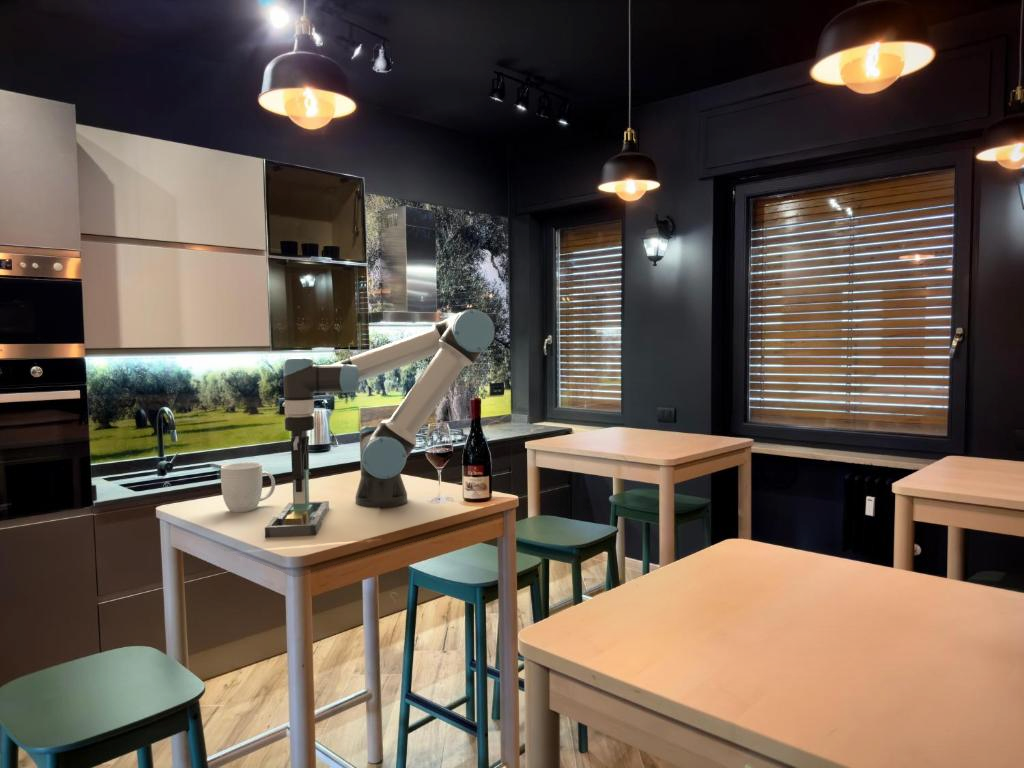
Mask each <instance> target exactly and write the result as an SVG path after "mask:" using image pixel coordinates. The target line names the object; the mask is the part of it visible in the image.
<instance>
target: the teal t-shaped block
mask: <svg viewBox="0 0 1024 768" xmlns="http://www.w3.org/2000/svg"><path fill="white" fill-rule="evenodd" d="M309 476H310V475H308V469H304V479H305V504H295V503H294V480H292V500H293V502H292V503H293V507H292V508H291V509H290V514H291V513H292V512H293V511H305V510H309V517H310V515H311V514H312V512H313V505H309V502H310V487H309V485H310V483H309V482H310V481H309V480H310V479H309Z"/></svg>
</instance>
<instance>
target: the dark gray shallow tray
mask: <svg viewBox="0 0 1024 768" xmlns="http://www.w3.org/2000/svg"><path fill="white" fill-rule="evenodd" d="M329 504H330V503H329V500H322V501H318V500H317V501H309V505H313V512H312V514H311V515H310V517H309V520H308V522H307V523H306V524H312V522H313V520H314V519H315V517H316V515H321V520H322V521H323V520H324V517H325V516H326V514H327V513H328V510H329V509H330V505H329ZM292 507H293V502H288V503H287V505H286V506H285V507H284V508H283V510H281V512H280V513H279V514H278V516H277V517H278V521H279V526H283V525H285V518H286V517H287V516H288V515H290V509H291V508H292Z"/></svg>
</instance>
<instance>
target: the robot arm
mask: <svg viewBox="0 0 1024 768" xmlns="http://www.w3.org/2000/svg"><path fill="white" fill-rule="evenodd" d="M494 337H495V326H494V322H493V321H492V319H491V317H489V315H488V314H486V313H485V312H483V311H481V310H478V309H475V308H468V309H465V310H463V311H459V312H457V313H455V314H453V315H452V316H450V317H448V318H446V319H444V320H442V321H440V322H437V323H434V324H432V326H431V328H430V329H428V330H425V331H422V332H419V333H416V334H414V335H411V336H408V337H405V338H403V339H400V340H396V341H394V342H391V343H387V344H385V345H382V346H380V347H376V348H373V349H371V350H369V351H365V352H363V353H360V354H357V355H355V356H351V357H350V358H346V359H343V360H340V361H338V362H333V363H330V364H322V365H321V364H320V365H319V364H314V362H313V361H314V360H313V359H312V357H289V358H286V359H285V360H284V361H283V375H282V377H283V378H282V379H283V396H284V397H283V399H284V402H283V403H282V407H284V414H285V415H286V416H285V417H284V430H285V431H287V432H292V437H291V438H290V444H289V446H290V454H291V455H290V456H291V458H290V459H291V460H290V461H291V477H290V481H293V480H294V503H295V504H305V479H304V469H308V476H311V475H312V473H311V472H310V457H309V456H310V454H309V453H310V451H309V450H310V449H309V448H310V447H309V443H310V441H309V440H310V436H309V435H307V431H313V430H314V429H315V416H313V414H314V413H315V401H314V394H315V393H317V394H320V393H323V394H324V393H329V394H330V393H344V394H347V393H355V392H357V391H358V390H359V383H360V382H363V381H366V380H368V379H371V378H374V377H377V376H380V375H383V374H386V373H389V372H392V371H394V370H396V369H400V368H402V367H405V366H407V365H411V364H414V363H417V362H418V361H421V360H425V359H427V358H430V357H432V356H433V357H432V359H431V360H430V361H429V363H428V364H427V365H426V368H424V370H423V371H422V373H421V374H420V376H418V378H417V380H416V381H415V383H414V384H413V386H412V387H411V388H410V389H409V391H408V392H407V394H406V395H405V397H404V398H403V399H402V400H401V402H400V404H399V405H398V407H397V408H396V409H395V411H394V412H393V414H392V415H391V417H390V418H388V419H383V420H381V421H380V422H379V424H378V425H370V426H369V425H367V426H362V427H361V428H360V429H359V436H358V438H359V454H360V457H359V458H360V459H359V461H360V462H359V463H360V480H359V483H358V487H357V490H356V493H355V497H354V498H355V504H356V505H357V506H360V507H365V508H366V507H367V508H379V509H383V508H392V507H393V508H394V507H398V506H401V505H404V504H406V503H407V502H408V493H407V490H406V487H405V484H404V481H403V478H402V475H401V474H402V473H401V472H402V470H403V469H404V468H405V465H406V463H407V460H408V459H407V458H408V457H409V456H410V455H411V453H412V451H413V450H414V448H415V447H416V445H417V439H416V436H417V434H418V433H419V432H420V430H421V429H422V427H423V426H424V425H425V423H426V422H427V421H428V419H429V418H430V416H431V415H432V414H433V412H434V411H435V409H436V407H437V406H438V405H439V403H440V402H441V401H442V399H443V398H444V396H445V395H446V393H447V392H448V391H449V389H450V388H451V386H452V385H453V384H454V382H455V381H456V379H457V378H458V376H459V375H460V373H462V370H463V369H464V368H465V367H467V366H473V364H474V363H475V362H476V360H477V359H478V358H479V356H480V355H481V353H482V352H483V351H485V350H486V349H487V348H488V347H490V346H491V344H492V342H493V341H494Z"/></svg>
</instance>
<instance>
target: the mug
mask: <svg viewBox="0 0 1024 768" xmlns="http://www.w3.org/2000/svg"><path fill="white" fill-rule="evenodd" d="M263 476H268V478H269V479H270V482H271V486H270V490H269V491H268V493H266V494H265V495H264V496H262V492H263ZM220 484H221V485H220V486H221V494H222V498H223V502H224V503H225V506H226V508H227V509H228V510H229V512H231V513H244V512H245V513H247V512H250V511H255V510H256V509H257V508H258V506H259V503H260V502H263V501H265V500H267V499H268V498H271V496H272V495H273V494H274V491H275V489H276V479H275V477H274V476H273V474H272V473H271V472H268V471H263V466H262V463H261V462H249V461H248V462H236V463H234V462H233V463H228V464H224V465H221V467H220Z"/></svg>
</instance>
